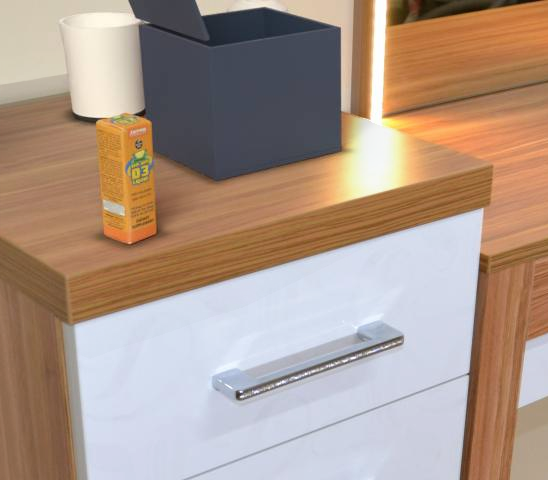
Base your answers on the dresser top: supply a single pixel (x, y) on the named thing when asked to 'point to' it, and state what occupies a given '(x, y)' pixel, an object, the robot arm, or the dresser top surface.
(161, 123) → the carton
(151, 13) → the flap
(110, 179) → the supplement box
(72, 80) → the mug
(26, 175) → the dresser top surface
